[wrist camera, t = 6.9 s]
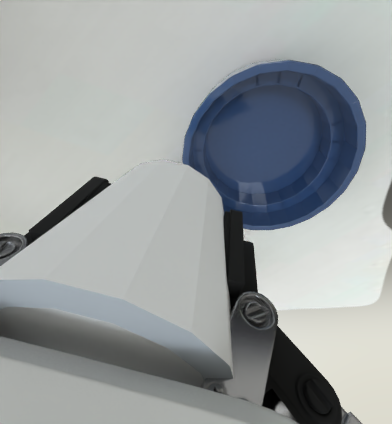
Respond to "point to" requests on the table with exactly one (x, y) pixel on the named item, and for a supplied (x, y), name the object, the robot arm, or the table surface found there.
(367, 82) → the table surface
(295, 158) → the bowl
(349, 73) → the table surface
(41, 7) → the table surface
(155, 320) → the white cylinder
